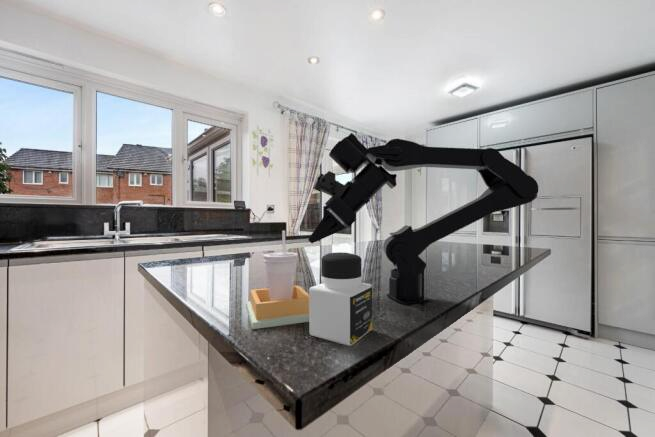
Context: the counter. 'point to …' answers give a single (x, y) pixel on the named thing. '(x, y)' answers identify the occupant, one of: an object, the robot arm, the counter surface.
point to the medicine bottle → (340, 301)
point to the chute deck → (277, 308)
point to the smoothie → (280, 273)
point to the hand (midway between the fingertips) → (310, 239)
